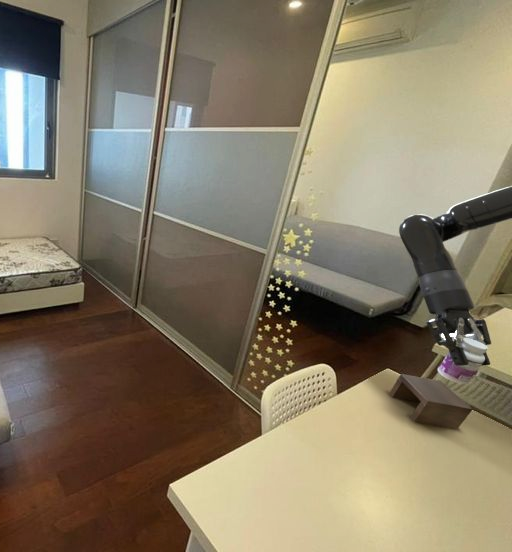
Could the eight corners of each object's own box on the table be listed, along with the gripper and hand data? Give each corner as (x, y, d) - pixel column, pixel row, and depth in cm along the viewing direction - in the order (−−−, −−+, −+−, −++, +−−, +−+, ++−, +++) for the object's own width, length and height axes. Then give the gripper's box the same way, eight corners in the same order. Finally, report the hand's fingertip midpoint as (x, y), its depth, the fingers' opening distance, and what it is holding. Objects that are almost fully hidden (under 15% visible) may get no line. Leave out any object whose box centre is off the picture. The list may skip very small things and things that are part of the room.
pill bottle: (436, 365, 78) (458, 333, 74) (466, 378, 74) (491, 344, 70) (436, 375, 74) (459, 341, 70) (467, 388, 71) (494, 353, 67)
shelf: (427, 400, 89) (440, 380, 86) (457, 429, 80) (473, 409, 77) (388, 393, 90) (400, 373, 87) (414, 421, 81) (428, 401, 78)
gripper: (437, 286, 72) (467, 364, 66) (487, 288, 74) (521, 363, 68) (403, 295, 79) (427, 366, 73) (450, 297, 81) (477, 366, 75)
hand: (472, 365), depth 71 cm, fingers closed on pill bottle, 5 cm apart
